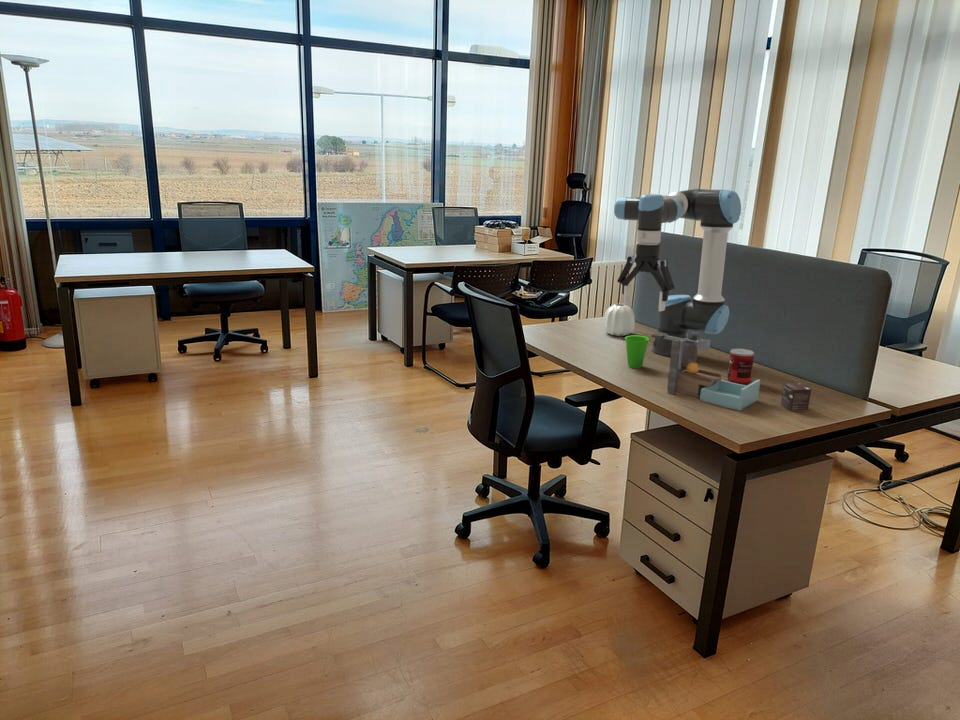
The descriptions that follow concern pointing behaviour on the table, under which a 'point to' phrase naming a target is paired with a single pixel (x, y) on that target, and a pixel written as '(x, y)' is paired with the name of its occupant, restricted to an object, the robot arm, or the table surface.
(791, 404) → the box
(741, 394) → the light blue tray
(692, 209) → the robot arm
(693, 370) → the ball
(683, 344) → the lever
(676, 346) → the grey angular frame
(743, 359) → the canned food
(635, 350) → the cup
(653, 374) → the table surface
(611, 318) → the vase
